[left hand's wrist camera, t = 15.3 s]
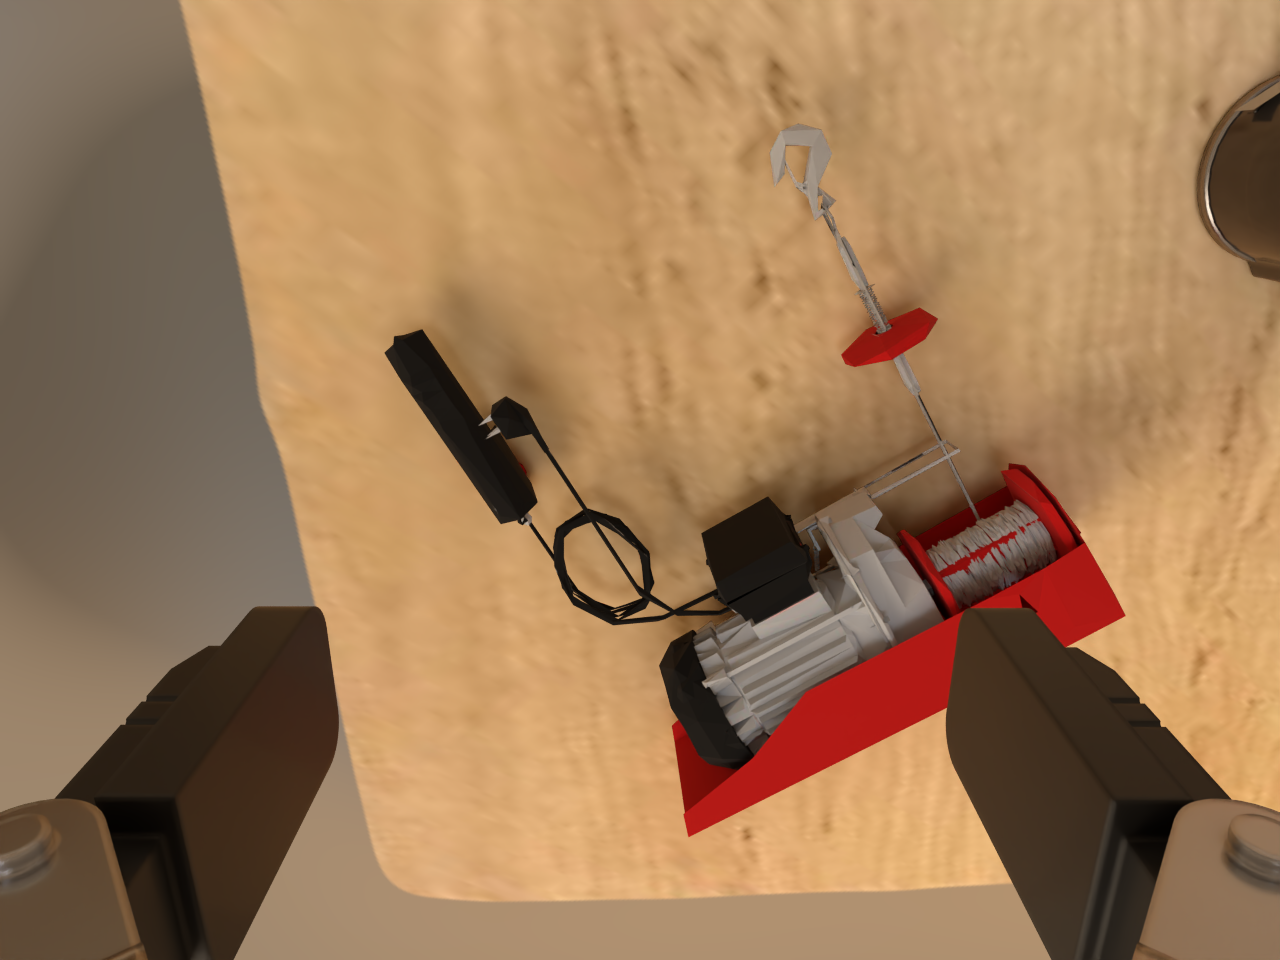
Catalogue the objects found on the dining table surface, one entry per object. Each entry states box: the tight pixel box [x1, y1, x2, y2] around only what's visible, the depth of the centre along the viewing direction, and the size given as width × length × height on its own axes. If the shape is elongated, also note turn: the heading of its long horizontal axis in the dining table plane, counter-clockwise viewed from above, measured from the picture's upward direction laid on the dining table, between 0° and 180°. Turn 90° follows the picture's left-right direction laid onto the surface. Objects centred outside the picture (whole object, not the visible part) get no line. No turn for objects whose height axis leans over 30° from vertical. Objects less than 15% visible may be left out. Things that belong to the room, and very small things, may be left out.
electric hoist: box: [385, 124, 1125, 837], centre depth 47 cm, size 10×27×30 cm
